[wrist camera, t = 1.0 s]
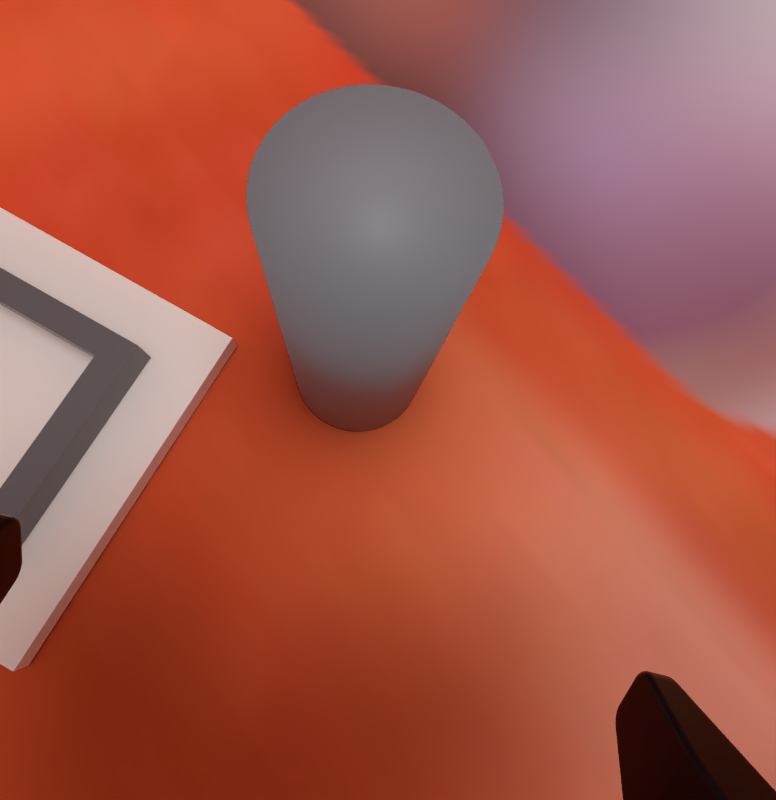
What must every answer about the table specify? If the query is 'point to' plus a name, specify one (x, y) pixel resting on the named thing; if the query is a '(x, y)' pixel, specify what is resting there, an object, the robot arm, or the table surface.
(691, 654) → the table surface
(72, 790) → the table surface
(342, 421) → the slate post
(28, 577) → the seat board
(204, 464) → the table surface
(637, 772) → the robot arm
